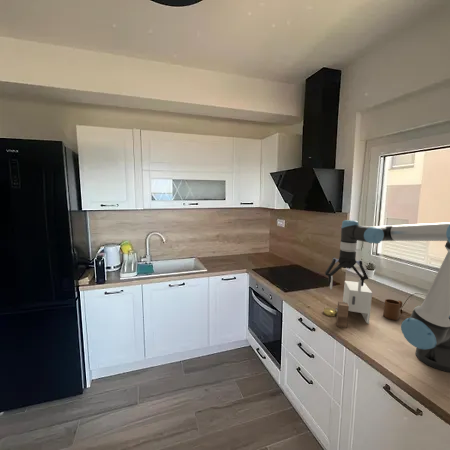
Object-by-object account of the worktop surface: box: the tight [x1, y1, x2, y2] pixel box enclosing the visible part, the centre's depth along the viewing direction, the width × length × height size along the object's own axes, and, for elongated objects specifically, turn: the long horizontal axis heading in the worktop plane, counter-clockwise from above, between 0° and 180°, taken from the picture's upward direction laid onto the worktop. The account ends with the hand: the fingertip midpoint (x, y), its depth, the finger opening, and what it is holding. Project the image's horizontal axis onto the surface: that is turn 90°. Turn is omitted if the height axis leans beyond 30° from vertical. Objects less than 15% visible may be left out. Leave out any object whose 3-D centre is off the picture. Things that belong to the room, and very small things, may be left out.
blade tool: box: [335, 301, 349, 329], centre depth 143 cm, size 20×4×12 cm, turn 164°
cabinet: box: [342, 280, 373, 325], centre depth 147 cm, size 17×11×18 cm, turn 164°
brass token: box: [323, 307, 337, 318], centre depth 149 cm, size 7×7×2 cm
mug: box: [382, 298, 403, 321], centre depth 148 cm, size 12×8×9 cm, turn 111°
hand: (344, 290), depth 134 cm, fingers open, 13 cm apart
